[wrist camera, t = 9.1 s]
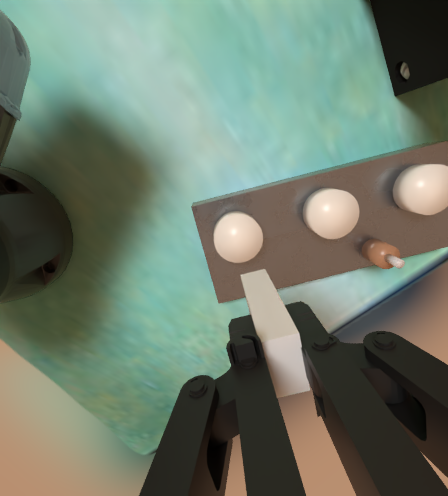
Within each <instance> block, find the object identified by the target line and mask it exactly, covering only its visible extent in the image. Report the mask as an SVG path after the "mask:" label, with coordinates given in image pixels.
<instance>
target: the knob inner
mask: <svg viewBox="0 0 448 496" xmlns="http://www.w3.org/2000/svg"><path fill="white" fill-rule="evenodd" d="M262 243H263V233H262V230H261V228H260V226H259V225H258V223H257V222H256V221H255V220H254V218H253V217H251V216H250V215H249V214H247V213H245V212H241V211H232V212H229V213H226V214H225V215H223V216H222V217H221V218H220V219H219V220H218V221H217V223H216V225H215V227H214V245H215V248H216V250H217V252H218V253H219V255H220V256H221V257H222V258H224V259H225V260H227V261H230V262H234V263H242V262H246V261H248V260H250V259H252V258H253V257H255V256H256V255H257V254H258V252H259V251H260V249H261V247H262Z"/></svg>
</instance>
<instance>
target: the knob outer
mask: <svg viewBox="0 0 448 496" xmlns="http://www.w3.org/2000/svg"><path fill="white" fill-rule="evenodd" d="M393 198H394V201H395V203H396V204H397V205H398V206H399V207H400V208H401V209H403V210H406V211H410V212H414V213H418V214H422V215H433V214H436V213H439V212H441V211H442V210H444V209H445V208H446V207H447V206H448V166H445V165H441V164H416V165H412V166H410V167H408V168H406V169H405V170H404V171H402V172H401V173H400V175H399V176H398V177H397V179H396V181H395V183H394V187H393Z"/></svg>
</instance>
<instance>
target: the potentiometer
mask: <svg viewBox="0 0 448 496" xmlns="http://www.w3.org/2000/svg"><path fill="white" fill-rule="evenodd" d="M362 255H363V257H364V258H366V259H367V260H369V261H370V262H372V263H374V264H375V265H377V266H379V267H380V268H382V269H389V268H392V267H394V266H395V267H397V268H402V267H403V266H404V264H405V262H404V261H403V260H401V259H400V252H399V250H398V249H397V248H396V247H394V246H392V245H390V244H387V243H385V242H383V241H381V240H379V239H370V240H368V241H366V242H365V243H364V245H363V247H362Z"/></svg>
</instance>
